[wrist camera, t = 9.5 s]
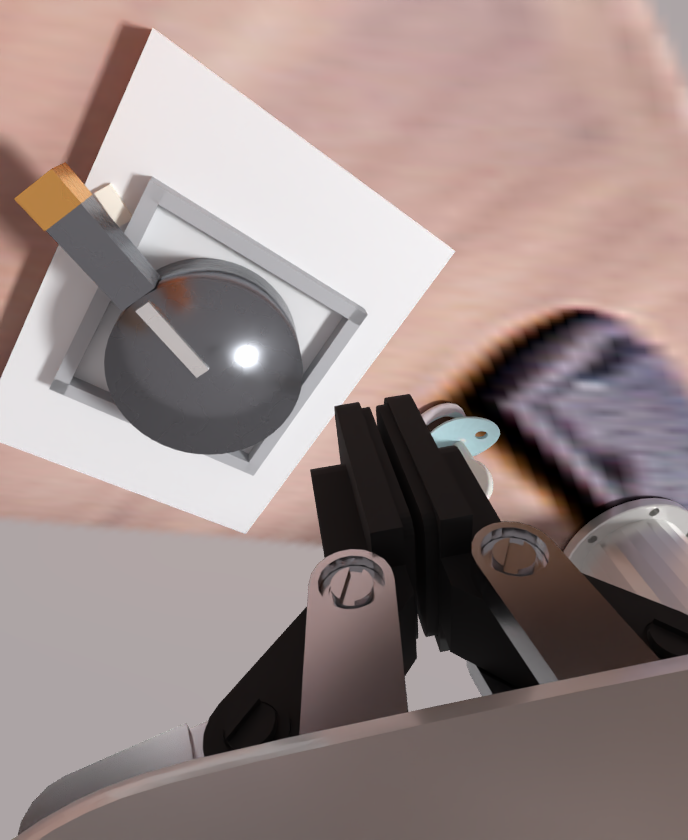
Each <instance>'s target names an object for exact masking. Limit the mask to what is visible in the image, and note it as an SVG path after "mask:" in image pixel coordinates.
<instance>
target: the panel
mask: <svg viewBox="0 0 688 840" xmlns="http://www.w3.org/2000/svg"><path fill="white" fill-rule="evenodd" d="M85 186H86V187H87V188H88V189H89V191H90V192H91V193H92V196H93V197H94V199H95V200H96V201H97V202H98V203H99V204H100V206H101V207H102V208H103V209H104V210H105V211H106V213H107V214H108V215H109V216H110V217H111V218H112V220H113V221H114V222H115V223H116V224H117V225H118V227H119V228H120V229H121V230H122V231H123V232H124V234H125V235H126V236H127V237H128V238H129V239H130V241H131V242H132V243H133V244H134V245H135V246H136V248H137V249H138V250H139V251H140V252H141V253H142V255H143V256H144V257H145V258H146V259H147V260H148V262H149V263H150V264H151V265H152V266H153V268H154V269H155V270H158V269H159V268H161V267H164V266H166V265H168V264H171V263H174V262H177V261H181V260H186V259H193V258H212V259H221V260H225V261H229V262H233V263H236V264H238V265H241V266H243V267H246V268H247V269H249V270H251V271H253V272H255V273H256V274H258V275H259V276H261V277H262V278H264V279H265V280H266V281H267V282H268V283H269V284H270V285H272V286H273V287H274V288H275V290H276V291H277V292H278V293H279V294H280V296H281V297H282V298H283V300H284V301H285V303H286V305H287V306H288V308H289V311H290V313H291V315H292V318H293V321H294V324H295V328H296V333H297V338H298V343H299V348H300V353H301V358H302V365H303V380H302V387H301V391H300V395H299V398H298V400H297V403H296V405H295V407H294V409H293V411H292V412H291V414H290V415H289V417H288V418H287V419H286V421H285V422H284V423H283V424H282V425H281V426H280V427H279V428H278V429H277V430H276V431H275V432H274V433H272V434H271V435H270V436H268V437H267V438H265V439H264V440H262V441H260V442H259V443H257V444H255V445H253V446H250V447H248V448H245V449H242V450H239V451H235V452H230V453H224V454H213V455H205V454H193V453H186V452H182V451H178V450H175V449H172V448H169V447H166V446H164V445H161V444H160V443H158V442H156V441H154V440H152V439H150V438H149V437H147V436H145V435H144V434H142V433H141V432H140V431H139V430H137V429H136V428H135V427H134V426H133V425H132V424H131V423H130V422H129V421H128V420H127V419H126V418H125V417H124V416H123V414H122V413H121V412H120V410H119V409H118V408H117V406H116V404H115V402H114V400H113V399H112V397H111V394H110V391H109V389H108V386H107V382H106V377H105V370H104V357H105V349H106V345H107V341H108V338H109V336H110V334H111V331H112V329H113V327H114V325H115V323H116V321H117V319H118V317H119V315H120V313H121V312H122V311H121V310H120V309H119V308H118V307H117V306H116V305H115V304H114V303H113V302H112V301H111V299H110V298H109V297H108V296H107V295H106V294H105V293H104V292H103V291H102V290H101V289H100V288H99V287H98V286H97V285H96V283H95V282H94V281H93V280H92V279H91V278H90V277H89V276H88V275H87V274H86V273H85V272H84V271H83V270H82V269H81V267H80V266H79V265H78V264H77V263H76V262H75V261H74V260H73V259H72V258H71V257H70V256H69V255H68V254H67V253H66V252H65V250H64V249H63V248H62V247H61V246H60V245H58V247H57V250H56V252H55V254H54V256H53V259H52V261H51V263H50V266H49V268H48V270H47V273H46V275H45V277H44V279H43V282H42V284H41V286H40V289H39V291H38V293H37V296H36V298H35V300H34V303H33V305H32V307H31V309H30V312H29V314H28V316H27V319H26V321H25V323H24V326H23V328H22V330H21V332H20V335H19V337H18V339H17V342H16V344H15V346H14V349H13V351H12V353H11V355H10V358H9V360H8V362H7V365H6V367H5V369H4V372H3V374H2V376H1V378H0V443H3V444H6V445H8V446H11V447H14V448H16V449H19V450H22V451H25V452H27V453H30V454H33V455H35V456H38V457H41V458H43V459H46V460H49V461H51V462H54V463H57V464H59V465H62V466H65V467H67V468H70V469H73V470H75V471H78V472H81V473H83V474H86V475H89V476H91V477H94V478H97V479H100V480H102V481H105V482H108V483H110V484H113V485H116V486H118V487H121V488H124V489H126V490H129V491H132V492H134V493H137V494H140V495H142V496H145V497H148V498H150V499H153V500H156V501H158V502H161V503H164V504H166V505H169V506H172V507H175V508H177V509H180V510H183V511H185V512H188V513H191V514H193V515H196V516H199V517H201V518H204V519H207V520H209V521H212V522H215V523H217V524H220V525H223V526H225V527H228V528H231V529H233V530H236V531H239V532H241V533H244V534H246V533H247V531H248V530H249V529H250V527H251V526H252V525H253V523H254V522H255V521H256V519H257V518H258V517H259V515H260V514H261V513H262V511H263V510H264V509H265V507H266V506H267V505H268V503H269V502H270V500H271V499H272V498H273V496H274V495H275V494H276V492H277V491H278V490H279V488H280V487H281V486H282V484H283V483H284V482H285V480H286V479H287V478H288V476H289V475H290V473H291V472H292V471H293V469H294V468H295V467H296V465H297V464H298V463H299V461H300V460H301V459H302V457H303V456H304V455H305V453H306V452H307V451H308V449H309V448H310V447H311V445H312V444H313V442H314V441H315V440H316V438H317V437H318V436H319V434H320V433H321V432H322V430H323V429H324V428H325V426H326V425H327V424H328V422H329V421H330V420H331V418H332V417H333V416H334V414H335V411H334V406H338V405H342V403H343V402H344V401H345V399H346V398H347V397H348V395H349V394H350V393H351V391H352V390H353V389H354V387H355V386H356V385H357V383H358V382H359V380H360V379H361V378H362V376H363V375H364V374H365V372H366V371H367V370H368V368H369V367H370V366H371V364H372V363H373V362H374V360H375V359H376V358H377V356H378V355H379V354H380V352H381V351H382V349H383V348H384V347H385V345H386V344H387V343H388V341H389V340H390V339H391V337H392V336H393V335H394V333H395V332H396V331H397V329H398V328H399V327H400V325H401V324H402V323H403V321H404V320H405V318H406V317H407V316H408V314H409V313H410V312H411V310H412V309H413V308H414V306H415V305H416V304H417V302H418V301H419V300H420V298H421V297H422V296H423V294H424V293H425V291H426V290H427V289H428V287H429V286H430V285H431V283H432V282H433V281H434V279H435V278H436V277H437V275H438V274H439V273H440V271H441V270H442V269H443V267H444V266H445V265H446V263H447V262H448V260H449V259H450V258H451V256H452V255H453V254H454V252H455V251H454V250H453V249H452V248H451V247H449V246H448V245H447V244H446V243H444V242H443V241H442V240H440V239H439V238H438V237H436V236H435V235H434V234H432V233H431V232H430V231H428V230H427V229H425V228H424V227H423V226H421V225H420V224H419V223H417V222H416V221H415V220H413V219H412V218H411V217H409V216H408V215H407V214H405V213H404V212H402V211H401V210H400V209H398V208H397V207H396V206H394V205H393V204H392V203H390V202H389V201H388V200H386V199H385V198H384V197H382V196H381V195H379V194H378V193H377V192H375V191H374V190H373V189H371V188H370V187H369V186H367V185H366V184H365V183H363V182H362V181H361V180H359V179H358V178H356V177H355V176H354V175H352V174H351V173H350V172H348V171H347V170H346V169H344V168H343V167H342V166H340V165H339V164H337V163H336V162H335V161H333V160H332V159H331V158H329V157H328V156H327V155H325V154H324V153H323V152H321V151H320V150H319V149H317V148H316V147H314V146H313V145H312V144H310V143H309V142H308V141H306V140H305V139H304V138H302V137H301V136H300V135H298V134H297V133H296V132H294V131H293V130H291V129H290V128H289V127H287V126H286V125H285V124H283V123H282V122H281V121H279V120H278V119H277V118H275V117H274V116H273V115H271V114H270V113H268V112H267V111H266V110H264V109H263V108H262V107H260V106H259V105H258V104H256V103H255V102H254V101H252V100H251V99H250V98H248V97H247V96H245V95H244V94H243V93H241V92H240V91H239V90H237V89H236V88H235V87H233V86H232V85H231V84H229V83H228V82H226V81H225V80H224V79H222V78H221V77H220V76H218V75H217V74H216V73H214V72H213V71H212V70H210V69H209V68H208V67H206V66H205V65H203V64H202V63H201V62H199V61H198V60H197V59H195V58H194V57H193V56H191V55H190V54H189V53H187V52H186V51H185V50H183V49H182V48H180V47H179V46H178V45H176V44H175V43H174V42H172V41H171V40H170V39H168V38H167V37H166V36H164V35H163V34H162V33H160V32H159V31H157V30H156V29H154V28H153V29H152V31H151V33H150V36H149V38H148V40H147V42H146V45H145V47H144V49H143V52H142V54H141V56H140V59H139V61H138V63H137V65H136V68H135V70H134V72H133V75H132V77H131V79H130V82H129V84H128V86H127V88H126V91H125V93H124V95H123V98H122V100H121V102H120V105H119V107H118V109H117V111H116V114H115V116H114V118H113V121H112V123H111V125H110V128H109V130H108V132H107V134H106V137H105V139H104V141H103V144H102V146H101V148H100V151H99V153H98V155H97V158H96V160H95V162H94V164H93V167H92V169H91V171H90V174H89V176H88V178H87V181H86V183H85Z"/></svg>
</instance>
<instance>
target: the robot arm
mask: <svg viewBox="0 0 688 840" xmlns="http://www.w3.org/2000/svg"><path fill="white" fill-rule="evenodd" d="M334 411H335V420H336V428H337V436H338V444H339V453H340V461H341V464H340V465H334V466H328V467H322V468H317V469H311V470H310V471H311V477H312V484H313V490H314V496H315V502H316V509H317V515H318V521H319V527H320V533H321V539H322V545H323V551H324V557H325V559H323V560H322V561H321V562H320V563H319V564H318V565H317V566H316V567H315V569H314V570H313V572H312V573H311V577H310V581H309V587H308V603H307V607H306V608H305V609H304V610H303V611H302V612H301V614H300V615H299V616H298V617H297V618H296V619H295V620H294V621H293V622H292V624H291V625H290V626H289V627H288V628H287V629H286V631H284V632H283V634H282V635H281V636H280V637H279V638H278V639H277V640H276V641H275V642H274V644H273V645H272V646H271V647H270V648H269V649H268V650H267V651H266V653H265V654H264V655H263V656H262V657H261V658H260V659H259V660H258V662H256V664H255V665H254V666H253V667H252V668H251V669H250V671H248V673H247V674H246V675H245V676H244V677H243V678H242V679H241V680H240V681H239V683H238V684H237V685H236V686H235V687H234V688H233V689H232V690H231V692H230V693H229V694H228V695H227V696H226V697H225V698H224V699H223V700H222V701H221V703H220V704H219V705H218V706H217V708H216V709H215V711H214V712H213V713H212V715H211V716H210V718H209V720H208V721H206V722H203V723H201V724H199V725H197V726H194V727H192V728H190V729H189V727H188V725H187V723H185V724H183V725H180V726H178V727H176V728H173V729H171V730H169V731H167V732H164V733H162V734H160V735H157V736H155V737H153V738H151V739H148V740H146V741H144V742H141V743H139V744H137V745H135V746H132V747H130V748H128V749H125V750H123V751H121V752H119V753H116V754H114V755H112V756H109V757H107V758H105V759H103V760H100V761H98V762H96V763H93V764H91V765H89V766H87V767H84V768H82V769H79V770H78V771H75V772H73V773H70V774H68V775H66V776H64V777H62V778H61V779H59V780H57V781H56V782H54V783H53V784H51V785H49V786H48V787H47V788H46V789H45V790H44V791H43V792H42V793H41V794H40V795H39V796H38V797H37V798H36V799H35V800H34V801H33V802H32V804H31V806H30V807H29V809H28V811H27V813H26V814H25V816H24V818H23V820H22V821H21V824H20V828H19V832H18V836H16V837H15V838H13V839H12V840H688V511H687V510H686V509H685V508H684V507H683V506H681V505H680V504H678V503H677V502H674V501H671V500H668V499H661V498H647V499H639V500H634V501H630V502H626V503H624V504H621V505H618V506H615V507H613V508H611V509H609V510H607V511H605V512H603V513H601V514H600V515H598V516H597V517H595V518H594V519H592V520H591V521H590V522H588V523H587V524H586V525H585V526H584V527H583V528H581V529H580V530H579V531H578V532H577V533H576V535H575V536H574V537H573V538H572V539H571V540H570V542H569V544H568V545H567V547H566V548H565V550H564V552H562V551H561V549H560V548H559V547H558V546H557V545H556V544H555V543H554V542H553V541H552V539H551V538H549V537H548V536H547V535H546V534H545V533H543V532H542V531H541V530H539V529H537V528H535V527H533V526H531V525H527V524H523V523H519V522H508V521H503V522H501V521H500V519H499V517H498V516H497V514H496V512H495V510H494V509H493V507H492V505H491V503H490V502H489V500H488V498H487V496H486V495H485V493H484V491H483V490H482V488H481V486H480V484H479V483H478V481H477V479H476V477H475V476H474V474H473V472H472V470H471V469H470V467H469V465H468V464H467V462H466V460H465V458H464V457H463V455H462V453H461V451H460V450H459V449H458V447H457V446H455V445H452V446H446V447H440V448H438V446H437V445H436V443H435V441H434V439H433V437H432V435H431V433H430V431H429V429H428V427H427V425H426V424H425V422H424V420H423V418H422V416H421V414H420V412H419V410H418V408H417V406H416V404H415V402H414V401H413V399H412V397H411V395H410V394H406V395H400V396H394V397H388V398H385V399H384V405H379V406H376V416H377V425H376V422H375V420H374V417H373V415H372V412H371V409H370V407H366V408H361V406H360V403H359V402H356V403H350V404H344V405H338V406H334ZM417 613H418V615H417ZM418 616H419V619H420V623H421V626H422V629H423V632H424V634H425V636H426V637H428V636H433V635H435V638H436V641H437V644H438V647H439V650H440V652H443V651H448V650H450V652H452V653H454V654H456V655H458V656H460V657H461V658H463V659H465V660H467V668H468V670H469V673H470V676H471V677H472V679H473V681H474V683H475V685H476V686H477V688H478V690H479V692H480V694H481V695H482V697H478V698H473V699H468V700H464V701H459V702H454V703H449V704H444V705H440V706H435V707H430V708H425V709H421V710H416V711H411V712H408V703H407V694H406V684H405V675H406V674H407V672H408V671H409V669H410V668H411V666H412V664H413V663H414V662H415V660H416V658H417V653H416V639H417V638H418Z"/></svg>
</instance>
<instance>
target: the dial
mask: <svg viewBox="0 0 688 840" xmlns="http://www.w3.org/2000/svg"><path fill="white" fill-rule="evenodd" d="M14 199H15V201H16V202H17V203H18V204H19V205H20V206H21V207H22V208H23V209H24V210H25V211H26V212H27V213H28V214H29V215H30V216H31V218H32V219H33V220H34V221H35V222H36V223H37V224H38V225H39V226H40V227H41V228H42V229H43V230H44V231H47V232H48V233H49V234H50V236H51V237H52V238H53V239H54V240H55V241H56V242H57V243H58V244H59V245H60V246H61V247H62V248H63V249H64V250H65V252H66V253H67V254H68V255H69V256H70V257H71V258H72V259H73V260H74V261H75V262H76V263H77V264H78V265H79V266H80V267H81V269H82V270H83V271H84V272H85V273H86V274H87V275H88V276H89V277H90V278H91V279H92V280H93V281H94V282H95V283H96V285H97V286H98V287H99V288H100V289H101V290H102V291H103V292H104V293H105V294H106V295H107V296H108V297H109V298H110V299H111V301H112V302H113V303H114V304H115V305H116V306H117V307H118V308H119V309H120V310H121V311H122V312H121V313H120V315H119V317H118V319H117V321H116V323H115V325H114V327H113V329H112V331H111V334H110V336H109V338H108V341H107V345H106V349H105V357H104V370H105V377H106V382H107V386H108V389H109V391H110V394H111V397H112V399H113V400H114V402H115V404H116V406H117V408H118V409H119V410H120V412H121V413H122V414H123V416H124V417H125V418H126V419H127V420H128V421H129V422H130V423H131V424H132V425H133V426H134V427H135V428H136V429H137V430H139V431H140V432H141V433H142V434H144V435H145V436H147V437H149V438H150V439H152V440H154V441H156V442H158V443H160V444H161V445H164V446H166V447H169V448H172V449H175V450H178V451H182V452H186V453H193V454H205V455H213V454H224V453H230V452H235V451H239V450H242V449H245V448H248V447H250V446H253V445H255V444H257V443H259V442H260V441H262V440H264V439H265V438H267V437H268V436H270V435H271V434H272V433H274V432H275V431H276V430H277V429H278V428H279V427H280V426H281V425H282V424H283V423H284V422H285V421H286V419H287V418H288V417H289V415H290V414H291V412H292V411H293V409H294V407H295V405H296V403H297V400H298V398H299V395H300V391H301V387H302V380H303V365H302V358H301V353H300V348H299V343H298V338H297V333H296V328H295V324H294V321H293V318H292V315H291V313H290V311H289V308H288V306H287V305H286V303H285V301H284V300H283V298H282V297H281V296H280V294H279V293H278V292H277V291H276V290H275V288H274V287H273V286H272V285H270V284H269V283H268V282H267V281H266V280H265V279H264V278H262V277H261V276H259V275H258V274H256V273H255V272H253V271H251V270H249V269H247V268H246V267H243V266H241V265H238V264H236V263H233V262H229V261H225V260H221V259H212V258H193V259H186V260H181V261H177V262H174V263H171V264H168V265H166V266H164V267H161V268H159V269H158V270H155V269H154V268H153V266H152V265H151V264H150V263H149V262H148V260H147V259H146V258H145V257H144V256H143V255H142V253H141V252H140V251H139V250H138V249H137V248H136V246H135V245H134V244H133V243H132V242H131V241H130V239H129V238H128V237H127V236H126V235H125V234H124V232H123V231H122V230H121V229H120V228H119V227H118V225H117V224H116V223H115V222H114V221H113V220H112V218H111V217H110V216H109V215H108V214H107V213H106V211H105V210H104V209H103V208H102V207H101V206H100V204H99V203H98V202H97V201H96V200H95V199H94V197H93V196H92V193H91V192H90V191H89V189H88V188H87V187H86V186H85V185H84V184H83V182H82V181H81V180H80V179H79V178H78V176H77V175H76V174H75V173H74V172H73V171H72V169H71V168H70V167H69V166H68V165H67V164H66V162H65V163H63V164H61V165H58V166H56V167H54V168H52V169H51V170H49V171H48V172H47V173H46V174H44V175H43V176H42V177H41V178H39V179H38V180H37V181H36V182H34V183H33V184H32V185H31V186H29V187H28V188H27V189H26V190H24V191H23V192H22V193H20V194H19V195H18V196H17V197H15V198H14Z"/></svg>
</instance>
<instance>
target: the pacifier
mask: <svg viewBox="0 0 688 840" xmlns="http://www.w3.org/2000/svg"><path fill="white" fill-rule="evenodd" d="M421 416H422V418H423V420H424V422H425V424H426V425H429V424H430V423H431V422H433V421H434V420H436V419H439V418H441V417H446V416H450V417H454V419H451V420H448V421H446V422H444V423H442V424H441V425H439V426H437V427H436V428H435V429H434V430H432V431H431V432H430V433H431V435H432V437H433V439H434V441H435V443H436V445H437V446H438V448H440V447H446V446H452V445H455V446H457V447H458V449H459V450H460V451H461V453H462V455H463V457H464V458H465V460H466V462H467V464H468V465H469V467H470V469H471V470H472V472H473V474H474V476H475V477H476V479H477V481H478V483H479V484H480V486H481V488H482V490H483V491H484V493H485V495H486V496H487V498H488V499H489V498H490V496H491V494H492V491H493V479H492V476H491V474H490V472H489V470H488V469H487V468H486V467H485V466H484V465H483V464H482V463H480V462H479V461H476V460H474V458H473V456H475V455H477V454H479V453H481V452H483V451H485V450H486V449H488V448H489V447H491V446H492V445H493V444H494V443H495V442H496V441H497V439H498V438H499V435H500V430H499V428H498V427H497V425H496V424H495V423H493V422H492V421H490V420H487V419H484V418H480V417H466V415H465V413H464V411H463V409H462V408H461V407H459V406H458V405H456V404H452V403H445V404H439V405H437V406H434V407H432V408H430V409H428V410H427V411H425V412H424V413H422V414H421ZM479 431H485V432H486V435H484V436H482V437H476V436H475V434H476V433H477V432H479Z"/></svg>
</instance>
